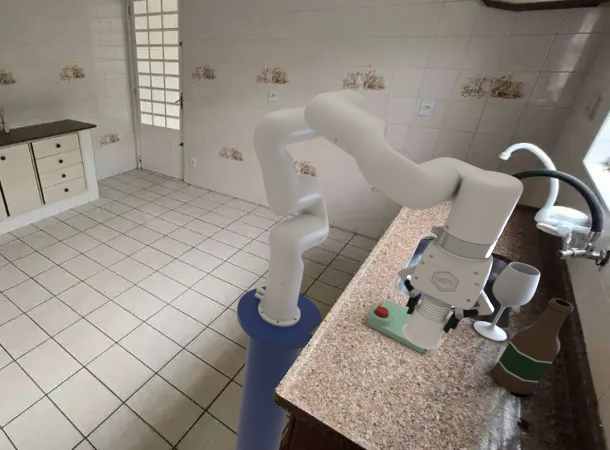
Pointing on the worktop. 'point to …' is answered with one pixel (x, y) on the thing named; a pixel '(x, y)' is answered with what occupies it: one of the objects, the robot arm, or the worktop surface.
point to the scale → (392, 322)
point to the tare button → (381, 312)
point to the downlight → (427, 323)
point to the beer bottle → (532, 350)
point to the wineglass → (510, 295)
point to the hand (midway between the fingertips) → (429, 319)
